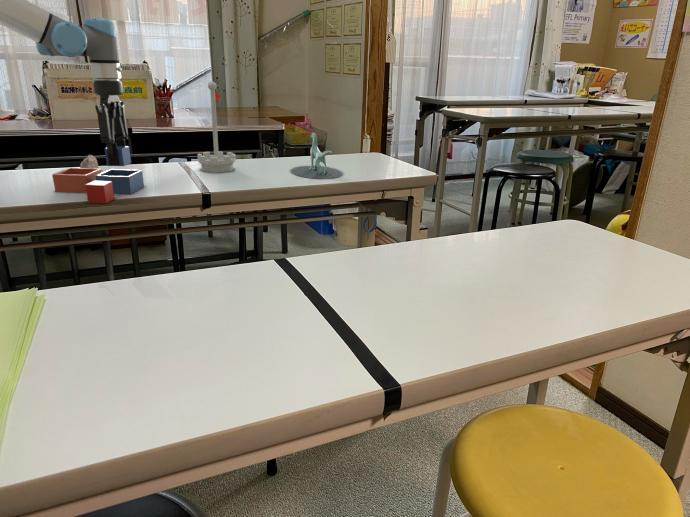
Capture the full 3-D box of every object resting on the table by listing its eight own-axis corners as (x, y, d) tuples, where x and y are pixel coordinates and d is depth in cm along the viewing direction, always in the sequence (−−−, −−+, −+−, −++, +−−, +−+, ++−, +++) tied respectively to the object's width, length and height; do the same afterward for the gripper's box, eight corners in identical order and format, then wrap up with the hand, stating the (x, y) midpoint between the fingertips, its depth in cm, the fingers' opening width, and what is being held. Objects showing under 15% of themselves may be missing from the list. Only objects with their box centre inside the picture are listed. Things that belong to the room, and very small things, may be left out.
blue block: (107, 165, 148) (104, 148, 147) (114, 162, 153) (112, 145, 151) (124, 166, 148) (121, 148, 146) (131, 163, 153) (129, 146, 151)
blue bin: (97, 193, 149) (95, 175, 147) (112, 185, 158) (110, 169, 156) (131, 194, 149) (128, 176, 147) (144, 186, 158) (142, 170, 156)
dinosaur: (353, 178, 177) (354, 139, 172) (304, 181, 170) (304, 141, 166) (328, 164, 198) (328, 130, 194) (283, 167, 192) (283, 131, 187)
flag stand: (224, 174, 177) (218, 82, 166) (191, 171, 181) (184, 81, 170) (242, 167, 189) (238, 81, 178) (211, 164, 192) (205, 80, 182)
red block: (87, 202, 139) (85, 184, 137) (96, 198, 144) (94, 180, 142) (106, 203, 139) (103, 185, 137) (114, 198, 144) (112, 181, 142)
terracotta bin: (55, 191, 149) (52, 174, 147) (72, 184, 158) (69, 167, 156) (88, 192, 149) (85, 175, 147) (103, 185, 158) (101, 168, 156)
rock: (89, 183, 159) (85, 160, 157) (78, 175, 170) (74, 153, 167) (109, 181, 163) (105, 158, 160) (97, 173, 173) (94, 152, 171)
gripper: (105, 81, 134) (117, 170, 142) (133, 79, 151) (143, 158, 159) (77, 80, 134) (91, 169, 142) (108, 78, 151) (119, 157, 159)
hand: (118, 163), depth 151 cm, fingers closed on blue block, 5 cm apart
